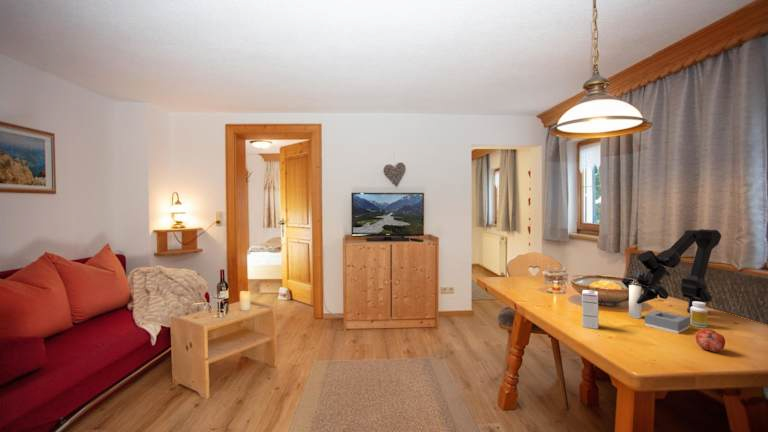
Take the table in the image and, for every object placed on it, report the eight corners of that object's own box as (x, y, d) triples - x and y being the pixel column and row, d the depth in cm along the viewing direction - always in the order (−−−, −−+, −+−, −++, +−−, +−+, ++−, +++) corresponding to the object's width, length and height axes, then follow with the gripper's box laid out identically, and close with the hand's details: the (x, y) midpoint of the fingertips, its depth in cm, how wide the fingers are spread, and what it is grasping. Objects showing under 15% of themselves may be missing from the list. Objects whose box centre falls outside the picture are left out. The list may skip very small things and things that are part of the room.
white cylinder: (629, 314, 155) (629, 284, 154) (641, 316, 152) (642, 285, 151) (628, 317, 151) (628, 286, 151) (641, 319, 148) (641, 287, 148)
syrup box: (598, 329, 137) (598, 294, 136) (581, 326, 140) (582, 292, 139) (598, 325, 141) (598, 291, 141) (582, 322, 145) (582, 289, 144)
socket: (655, 320, 147) (656, 310, 146) (688, 328, 137) (688, 317, 137) (644, 325, 141) (644, 314, 141) (678, 333, 131) (678, 322, 131)
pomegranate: (695, 350, 122) (688, 338, 117) (703, 332, 123) (696, 320, 118) (723, 360, 115) (717, 348, 111) (731, 342, 117) (725, 329, 112)
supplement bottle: (710, 328, 137) (711, 304, 137) (695, 327, 138) (695, 304, 138) (701, 323, 142) (701, 300, 142) (686, 322, 143) (686, 300, 143)
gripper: (625, 260, 161) (604, 285, 159) (663, 267, 142) (640, 295, 141) (638, 276, 162) (618, 300, 161) (678, 285, 144) (656, 312, 142)
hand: (632, 301), depth 151 cm, fingers closed on white cylinder, 5 cm apart
